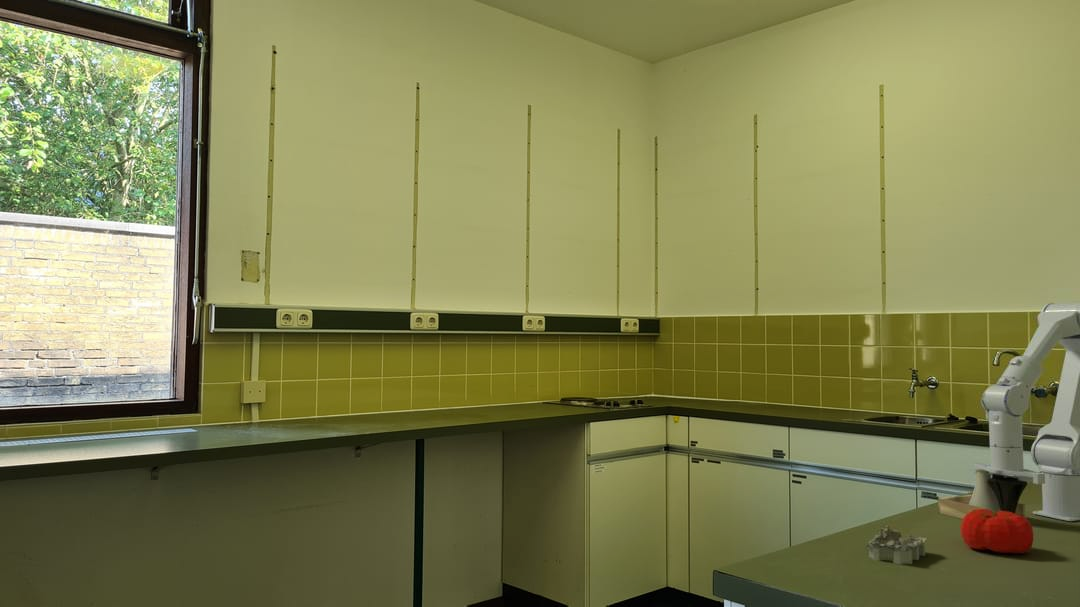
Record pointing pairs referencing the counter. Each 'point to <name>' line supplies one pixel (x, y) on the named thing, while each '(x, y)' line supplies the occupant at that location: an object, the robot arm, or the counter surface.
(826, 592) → the counter surface
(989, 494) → the flask
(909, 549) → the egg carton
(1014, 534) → the tomato
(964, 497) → the oak frame
